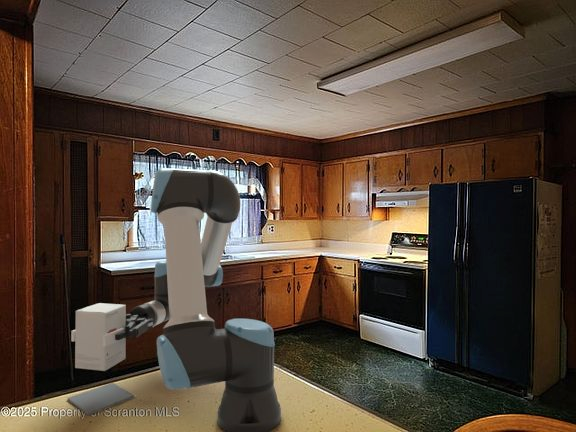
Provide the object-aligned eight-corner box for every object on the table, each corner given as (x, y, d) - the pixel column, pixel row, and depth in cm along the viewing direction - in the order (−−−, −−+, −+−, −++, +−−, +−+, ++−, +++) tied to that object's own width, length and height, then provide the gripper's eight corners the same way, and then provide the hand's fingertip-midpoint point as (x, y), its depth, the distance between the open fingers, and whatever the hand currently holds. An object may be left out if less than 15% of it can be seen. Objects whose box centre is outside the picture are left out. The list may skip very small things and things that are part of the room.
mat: (134, 397, 104) (134, 395, 104) (88, 415, 95) (88, 413, 95) (112, 384, 112) (112, 382, 112) (67, 400, 102) (67, 397, 102)
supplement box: (105, 372, 98) (104, 312, 98) (74, 368, 100) (73, 310, 100) (127, 358, 107) (127, 304, 107) (98, 355, 109) (98, 302, 109)
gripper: (177, 332, 117) (123, 359, 96) (117, 324, 124) (55, 347, 103) (177, 307, 117) (123, 328, 95) (117, 300, 124) (55, 319, 103)
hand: (87, 338), depth 99 cm, fingers closed on supplement box, 9 cm apart
